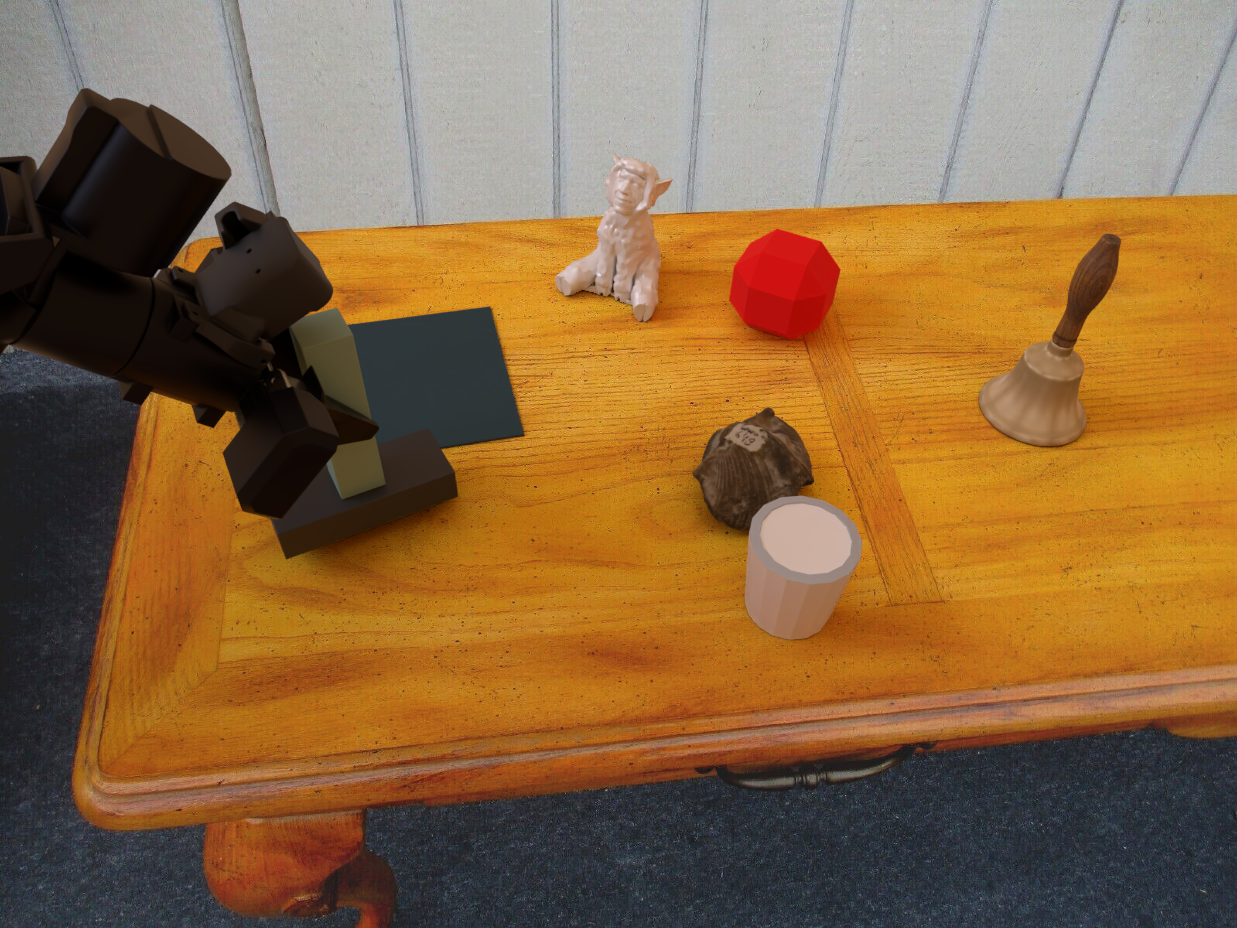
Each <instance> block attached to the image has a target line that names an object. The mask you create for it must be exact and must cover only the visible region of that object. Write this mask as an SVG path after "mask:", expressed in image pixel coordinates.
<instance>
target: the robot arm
mask: <svg viewBox="0 0 1237 928" xmlns="http://www.w3.org/2000/svg"><path fill="white" fill-rule="evenodd" d="M232 173H233V172H232V168H231V166H230V164H229V163H228V162H227V160H226V159H225V157H224V156H223V155H222V154H221V153H220V152H219V150H217V148H215V147H214V146H213V145H212V144H211V143H210V142H209V141H207V139H205V137H204V136H202V135H200V134H199V133H198V132H196V130H195V129H193V128H192V127H190V126H188V125H187V124H186V123H184V122H183V121H181V120H180V119H178V118H177V117H175V116H174V115H172V114H170V113H169V112H167V111H165V110H164V109H162V108H160V107H158V106H157V105H154V104H152V103H150V104H149V105H148V106H147V105H145V104H142V103H140V102H138V101H135V100H132V99H128V98H124V97H114V98H111V99H109V98H108V97H105V96H104V95H102V94H100V93H98V92H97V91H95V90H93V89H91V88H89V87H85V88H81V89H80V90H79V92H78V93H77V95H76V96H75V98H74V100H73V101H72V103H71V105H70V107H69V109H68V111H67V114H66V119H65V123H64V125H63V127H62V130H61V131H60V133H59V134H58V136H57V138H56V140H55V141H54V143H53V144H52V146H51V147H50V149H49V150H48V153H46V156H45V157H44V159H43V160H42V162H41V164H40V166H39V167H38V165H37V162H36V160H35V159H34V158H33V157H32V156H29V155H15V156H14V155H12V156H0V357H1V356H2V355H3V354H4V352H5V350H6V348H7V347H8V346H10V347H13V348H16V349H20V350H22V351H25V352H28V353H31V354H32V353H33V354H35V355H38V356H41V357H44V358H47V359H50V360H53V361H56V362H59V363H62V364H65V365H68V366H72V367H74V368H78V369H81V370H83V371H87V372H90V373H93V374H95V375H100V376H102V377H105V378H107V379H111V380H113V381H117V383H118V388H119V391H120V396H121V400H123V401H125V402H129V403H132V404H134V405H138V406H143V404H144V403H145V402H146V400H147V399H148V397H149V396H150V394H151V393H154V394H157V395H160V396H162V397H165V398H169V399H172V400H175V401H177V402H181V403H184V404H186V405H190V406H191V409H192V412H193V415H194V418H195V421H196V424H198V425H201V426H205V427H208V428H211V429H215V427H216V426H217V424H218V423H219V422H220V420H222V418H223V416H224V415H225V414H226V413H227V412H229V413H233V414H234V417H235V419H236V423H237V426H238V428H239V430H238V432H236V434H235V436H233V438H231V441H230V442H229V443H228V444H227V446H226V447H225V448H224V450H223V451H222V457H223V459H224V462H225V465H226V468H227V471H228V474H229V477H230V481H231V484H232V486H233V489H234V493H235V496H236V498H237V501H238V503H239V506H240V509H241V511H242V512H243V513H246V514H251V515H255V516H259V517H263V518H267V519H270V518H271V519H282V518H283V517H284V516H285V514H286V513H287V512H288V511H289V509H290V508H291V507H292V506H293V505H294V503H295V502H296V501H297V500H298V498H299V497H300V496H301V495H302V493H303V492H304V491H305V490H306V488H307V487H308V486H309V485H310V484H311V482H312V481H313V480H314V479H315V477H316V476H317V475H318V474H319V472H320V471H321V470H322V469H323V467H324V466H325V465H326V464H327V462H328V461H329V460H330V459H331V458H332V456H333V455H334V454H335V453H336V451H337V446H338V445H344V444H349V443H354V442H360V441H365V440H370V439H372V438H373V436H374V435H375V434H376V433H377V432H378V430H379V426H378V424H377V423H376V422H374V421H373V420H371V419H369V418H368V417H366V416H364V415H363V414H361V413H359V412H357V411H355V410H354V409H352V408H350V407H348V406H346V405H344V404H342V403H340V402H338V401H337V400H335V399H333V398H331V397H329V396H327V395H325V392H324V390H323V387H322V385H321V383H320V381H319V379H318V376H317V374H316V372H315V370H314V368H313V366H312V365H310V367H309V368H308V369H307V370H306V372H305V373H304V374H303V376H302V373H301V370H300V366H299V362H298V359H297V355H296V351H295V348H294V344H293V341H292V337H291V333H290V330H289V327H290V326H291V325H293V324H294V323H296V322H297V321H298V320H300V319H301V318H303V317H304V316H308V315H310V313H313V312H314V313H317V312H318V311H320V310H321V309H323V308H324V307H326V305H328V303H329V302H330V301H331V299H332V297H333V295H334V287H333V285H332V283H331V281H330V280H329V279H328V276H327V274H326V272H325V271H324V269H323V267H322V265H321V261H320V259H319V258H318V257H317V256H316V254H315V253H314V252H313V251H312V250H311V249H310V247H309V246H308V245H307V243H305V242H304V241H303V240H302V238H301V237H300V236H299V235H297V233H296V232H295V230H293V228H292V226H291V224H290V222H289V220H288V219H287V218H286V217H284V216H277V215H276V214H275V213H274V212H273V211H272V210H269V211H268V212H266V213H264V212H263V211H261V210H258V209H256V208H253V207H251V206H248V205H246V204H243V203H240V202H237V201H231V202H230V203H229V204H228V205H226V206H225V207H223V208H222V209H221V210H219V211H218V212H216V213H215V214H214V221H215V225H216V229H217V232H218V236H219V240H220V243H221V246H218V247H217V246H216V247H213V248H210V249H209V251H208V252H207V254H205V256H204V258H203V259H202V261H201V263H199V265H198V267H197V268H196V269H195V271H194V272H193V271H191V270H188V269H186V268H183V267H181V266H178V265H173V266H172V268H171V267H170V266H171V265H172V263H173V262H174V260H175V259H176V258H177V256H178V255H179V253H180V252H181V250H182V249H183V247H184V246H185V244H186V243H187V242H188V240H189V238H190V237H191V235H193V233H194V231H195V230H196V228H197V227H198V225H199V224H200V223H201V221H202V219H203V218H204V216H206V214H207V212H208V211H209V210H210V208H211V207H212V205H213V204H214V202H215V200H217V198H218V196H219V194H220V193H221V192H222V190H223V189H224V187H225V186H226V184H227V183H228V182H229V180H230V179H231V177H232V176H233V175H232ZM158 271H159V272H158ZM156 274H157V275H156Z"/></svg>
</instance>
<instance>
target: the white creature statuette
mask: <svg viewBox="0 0 1237 928" xmlns="http://www.w3.org/2000/svg"><path fill="white" fill-rule="evenodd" d="M612 158H613V160H614V165H613V166H612V168H611V169H610V170H609V176H608V177H607V178H606V179H605V180H604V185H605V186H606V195H605V199H606V200H607V202H608V204H610V206H609V208H608V209H605V210H604V212H603V217H602V218H601V220H600V222H599V224H598V227H597V230H596V232H595V234H596V237H597V238H598V241H597V246H596V248H595V249H594V250H593V251H592V252H590V253H589V254H588V255H586V256H583V257H582V258H580V259H577V260H573V261H572V262H570V264H568V265H566V266H565V268H564V269H563V270H562V271H560V272H559V273H558V274H556V275H555V277H554V283H555V285H556V288H557V290H558V291H559V292H560V293H563V296H564V295H565V296H570V295H571V296H573V295H576V294H577V293H579V291H580V292H582V291H581V290H585V291H584V292H586V291H589V292H588V293H591V292H594V293H593V294H595V293H597V294H596V295H597V296H601V294H602V296H603V297H604V296H606V297H609V296H610V295H609V294H612V295H614V296H613V297H614V300H615V301H616V302H617V301H618V300H619V303H620V302H622V303H621V304H627V305H630V306H632V311H633V316H634V318H635V319H636V320H637V321H638V322H641V321H643V322H645V323H646V322H647V321H649V320H650V319H651V317H652V316H653V315H654V313H655V309H656V307H657V306H658V305H659V294H658V291H659V288H660V286H659V281H660V270H661V264H662V262H661V261H662V253H661V250H660V246H659V242H658V238H656V236H655V231H656V229H655V227H654V221H655V220H654V219H653V217H652V216H651V215H650V213H649V210H650V209H651V208H652V207H654V206H655V205H656V203H657V200H658V199H659V197H660V196H662V195H663V194H665V193H666V192H667V191H668V190H669V188H670V186H671V184H672V182H673V181H674V178H672V177H667V178H663V179H660V174H659V173H658V170H657V168H656V167H655V166H654V165H653V164H652V163H651V162H647V161H642V160H640V159H639V158H634V157H632V156H631V157H629V156H627V157H625V158H624V157H621V158H620V156H618V155H616V154H614V153H612ZM595 283H596V284H595ZM592 284H594V285H592ZM591 285H592V286H591ZM613 291H614V292H613ZM576 292H577V293H576ZM608 295H609V296H608ZM612 295H611V296H612ZM623 302H624V303H623Z"/></svg>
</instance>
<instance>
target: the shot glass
mask: <svg viewBox="0 0 1237 928" xmlns="http://www.w3.org/2000/svg"><path fill="white" fill-rule="evenodd" d="M862 548H863V539H862V538H861V536H860V532H859V529H858V527H857V524H856V523H855V522H854V521H853V520H852V519H851V518H850V517H849V516H848V515H847V514H846V513H845V512H844V511H843V510H842V509H840V508H838V507H837V506H834V505H833V504H831V503H829V502H828V501H825V500H824V499H820V498H815V497H810V496H806V495H797V496H791V497H781V498H778V499H776V500H774V501H772V502H770V503H767V504H765V505H763V507H762V508H761V509H760V510H759V511H758V512H757V513H756V515H755V516H754V517H753V518H752V522H751V527H750V530H749V531H748V542H747V555H746V556H747V558H746V570H745V572H746V573H745V585H744V586H745V587H744V604H745V608H746V612H747V615H748V616H749V617H750V618H751V620H752V621H753V622H754V624H755V625H756V626H757V627H758V628H759V629H761V630H762V631H764V632H766V633H767V634H769V635H771V636H772V637H776V638H779V639H780V638H781V639H784V640H788V641H791V640H802V639H808V638H810V637H811V636H813V635H815V634H817V633H819V632H821V630H822V629H823V628H824V627H825V625H826V624H827V622H828V621H829V619H830V617H831V616H832V613H833V612H834V610H835V608H836V607H837V605H838V602H839V601H840V599H841V597H842V595H843V593H844V591H845V589H846V587H847V585H848V583H849V582H850V580H851V578H852V576H853V575H854V572H855V570H856V568H857V567H858V565H859V563H860V561H861V557H862V551H863V549H862Z"/></svg>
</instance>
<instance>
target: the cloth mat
mask: <svg viewBox="0 0 1237 928" xmlns="http://www.w3.org/2000/svg"><path fill="white" fill-rule="evenodd" d="M347 325H348V327H349V329H350V330H351V332H352V334H353V337H354V342H355V346H356V351H357V355H358V360H359V364H360V369H361V374H362V378H363V383H364V387H365V392H366V396H367V401H368V405H369V410H370V415H371V419H372V420H373V421H374V422H376V423H377V424H378V426H379V430H378V432H377V433H376V434H375V437H376V442H377V445H378V444H381V443H384V442H387V441H390V440H393V439H396V438H399V437H402V436H405V435H408V434H411V433H414V432H417V431H420V430H423V429H426V428H429V430H430V431H431V433H432V435H433V436H434V438H435V440H436V441H437V443H438V445H439V446H440V448H441V449H446V448H453V447H459V446H460V447H461V446H466V445H472V444H478V443H484V442H491V441H498V440H505V439H509V438H517V437H522V436H525V432H524V428H523V425H522V421H521V418H520V414H519V410H518V405H517V402H516V398H515V395H514V391H513V387H512V384H511V380H510V376H509V371H508V368H507V365H506V360H505V357H504V354H503V349H502V345H501V343H500V338H499V335H498V331H497V327H496V323H495V320H494V315H493V312H492V308H491V305H490V306H489V305H488V306H482V307H475V308H465V309H460V310H459V309H458V310H452V311H444V312H436V313H435V312H434V313H427V314H421V315H412V316H405V317H397V318H388V319H380V320H374V321H365V322H359V323H350V324H347Z"/></svg>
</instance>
